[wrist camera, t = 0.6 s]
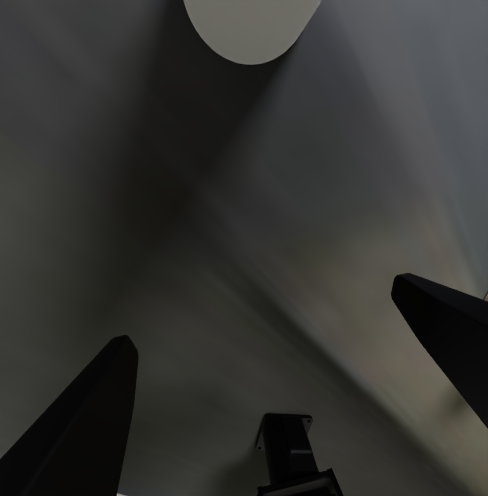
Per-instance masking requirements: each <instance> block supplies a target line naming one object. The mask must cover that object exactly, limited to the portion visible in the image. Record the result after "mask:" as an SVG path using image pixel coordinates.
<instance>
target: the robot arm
mask: <svg viewBox="0 0 488 496" xmlns="http://www.w3.org/2000/svg"><path fill="white" fill-rule="evenodd" d="M391 297H392V300H393V301H394V303H395V305H396V306H397V308H398V309H399V311H400V312H401V314H402V316H403V317H404V319H405V320H406V322H407V323H408V325H409V326H410V328H411V330H412V331H413V333H414V334H415V336H416V337H417V339H418V340H419V341H420V343H421V344H422V345H423V347H424V348H425V349H426V351H427V352H428V353H429V354H430V356H431V357H432V358H433V360H434V361H435V362H436V363H437V365H438V366H439V367H440V368H441V370H442V371H443V372H444V374H445V375H446V376H447V377H448V379H449V380H450V381H451V382H452V384H453V385H454V386H455V388H456V389H457V390H458V391H459V393H460V394H461V395H462V396H463V398H464V399H465V400H466V402H467V403H468V404H469V405H470V407H471V408H472V409H473V410H474V412H475V413H476V414H477V416H478V417H479V418H480V419H481V421H482V422H483V423H484V424H485V426H486V427H487V428H488V301H485V300H482V299H480V298H477V297H474V296H471V295H469V294H466V293H463V292H460V291H458V290H455V289H452V288H449V287H447V286H444V285H441V284H438V283H436V282H433V281H430V280H427V279H425V278H422V277H419V276H416V275H414V274H411V273H405V274H400V275H397V276H396V277H395V278H394V282H393V287H392V291H391ZM137 368H138V351H137V349H136V347H135V346H134V344H133V342H132V341H131V339H130V338H129V336H127V335H122V336H118V337H114V338H113V339H111V340H110V341H109V343H108V344H107V345H106V346H105V347H104V348H103V349H102V350H101V351H100V352H99V353H98V354H97V355H96V357H95V358H94V359H93V360H92V361H91V362H90V363H89V364H88V365H87V366H86V367H85V368H84V369H83V371H82V372H81V373H80V374H79V375H78V376H77V377H76V378H75V379H74V380H73V381H72V382H71V384H70V385H69V386H68V387H67V388H66V389H65V390H64V391H63V392H62V393H61V394H60V395H59V396H58V398H57V399H56V400H55V401H54V402H53V403H52V404H51V405H50V406H49V407H48V408H47V409H46V410H45V412H44V413H43V414H42V415H41V416H40V417H39V418H38V419H37V420H36V421H35V422H34V423H33V424H32V426H31V427H30V428H29V429H28V430H27V431H26V432H25V433H24V434H23V435H22V436H21V437H20V439H19V440H18V441H17V442H16V443H15V444H14V445H13V446H12V447H11V448H10V449H9V450H8V451H7V453H6V454H5V455H4V456H3V457H2V458H1V459H0V496H117V490H118V485H119V480H120V475H121V470H122V465H123V460H124V455H125V450H126V444H127V439H128V434H129V429H130V424H131V419H132V414H133V408H134V400H135V389H136V379H137ZM312 421H313V419H312V417H311V416H310V415H291V414H266V415H265V417H264V420H263V423H262V427H261V430H260V433H259V436H258V439H257V442H256V450H259V451H265V454H266V460H267V466H268V472H269V478H270V485H268V486H264V487H262V486H259V487H257V489H258V495H257V496H343V494H342V491H341V489H340V487H339V484H338V482H337V479H336V477H335V475H334V472H333V470H332V468H330V469H327V471H323V472H319V471H318V468H317V465H316V462H315V459H314V456H313V452H312V448H311V445H310V442H309V439H308V436H307V434H308V431H309V429H310V426H311V424H312Z"/></svg>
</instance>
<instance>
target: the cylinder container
mask: <svg viewBox="0 0 488 496" xmlns="http://www.w3.org/2000/svg"><path fill="white" fill-rule="evenodd" d="M183 1H184V4H185V7H186V10H187V13H188V16H189V18H190V20H191V22H192V24H193V26H194V28H195V29H196V31H197V32H198V34H199V35H200V37H201V38H202V39H203V40H204V42H205V43H206V44H207V45H208V46H209V47H210V48H211V49H212V50H214V51H215V52H216V53H217V54H219V55H221V56H222V57H224V58H225V59H228V60H230V61H233V62H235V63H239V64H246V65H255V64H262V63H266V62H268V61H271V60H273V59H275V58H277V57H279V56H280V55H282V54H283V53H284V52H286V51H287V50H288V49H289V48H290V47H291V46H292V45H293V44H294V42H295V41H296V40H297V38H298V37H299V35H300V34H301V32H302V31H303V29H304V28H305V26H306V25H307V23H308V21H309V20H310V18H311V17H312V15H313V14H314V12H315V11H316V9H317V7H318V6H319V4H320V3H321V1H322V0H183Z"/></svg>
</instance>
